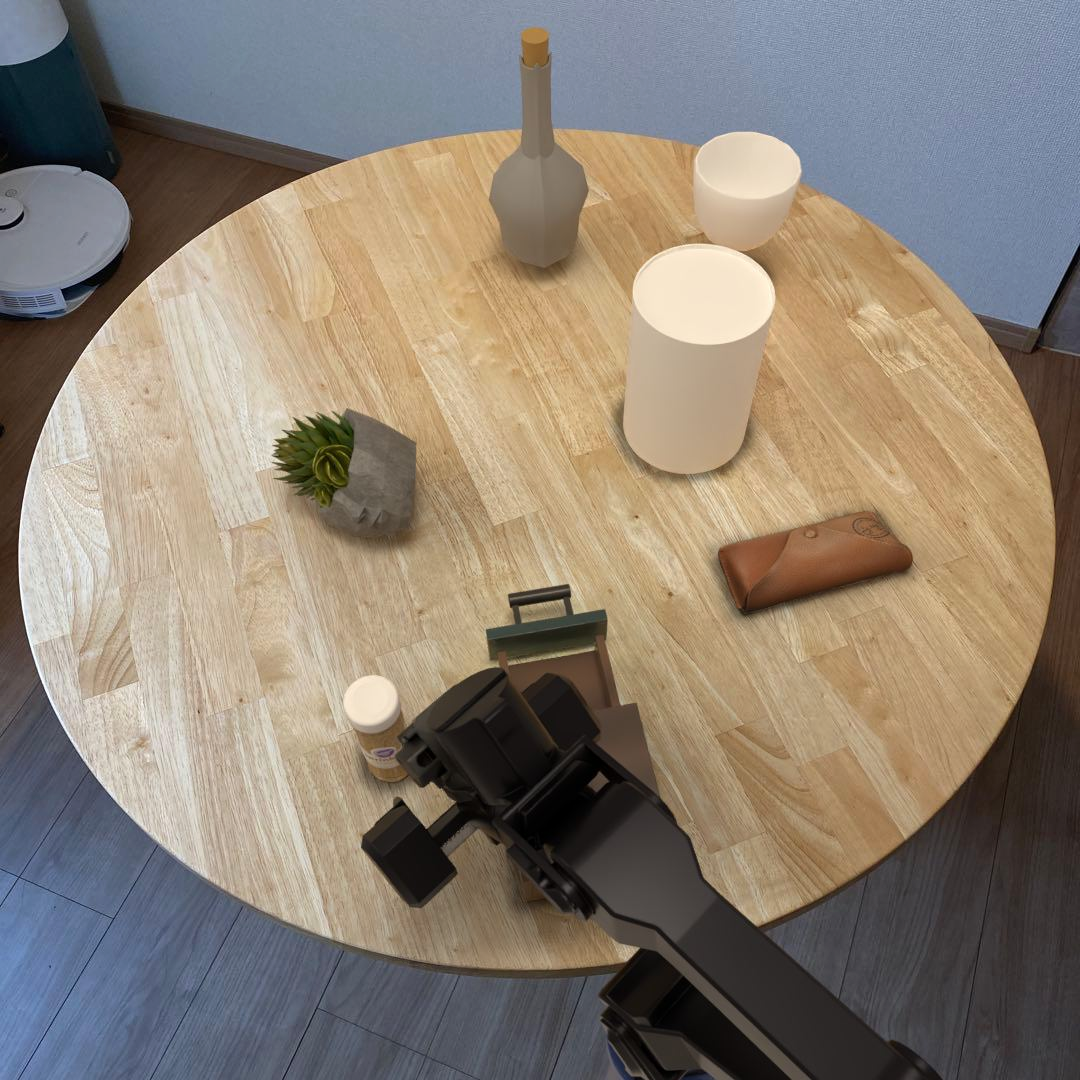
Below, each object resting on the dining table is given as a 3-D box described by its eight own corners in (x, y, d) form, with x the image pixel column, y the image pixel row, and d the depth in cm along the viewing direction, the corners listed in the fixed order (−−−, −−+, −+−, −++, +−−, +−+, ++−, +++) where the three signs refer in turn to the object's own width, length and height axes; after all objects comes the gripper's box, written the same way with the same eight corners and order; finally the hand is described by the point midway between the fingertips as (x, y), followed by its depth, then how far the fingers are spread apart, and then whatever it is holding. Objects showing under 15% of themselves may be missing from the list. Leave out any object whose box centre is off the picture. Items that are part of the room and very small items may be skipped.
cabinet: (499, 753, 96) (495, 727, 91) (633, 729, 97) (636, 702, 92) (524, 902, 89) (521, 883, 84) (668, 874, 90) (674, 854, 85)
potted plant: (402, 560, 104) (249, 528, 101) (404, 523, 116) (268, 494, 114) (428, 443, 101) (271, 408, 98) (428, 418, 113) (288, 386, 110)
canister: (767, 413, 117) (800, 279, 101) (704, 494, 112) (728, 366, 95) (665, 362, 122) (680, 225, 105) (599, 436, 116) (605, 304, 99)
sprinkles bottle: (378, 791, 95) (352, 733, 83) (361, 748, 97) (334, 686, 86) (425, 770, 96) (406, 710, 84) (407, 728, 98) (386, 664, 87)
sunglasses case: (871, 504, 110) (901, 498, 103) (889, 569, 110) (921, 567, 103) (711, 548, 107) (731, 545, 101) (729, 615, 107) (751, 616, 100)
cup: (673, 307, 127) (687, 192, 112) (687, 242, 133) (702, 125, 118) (770, 321, 125) (797, 206, 111) (780, 255, 131) (806, 137, 117)
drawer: (482, 613, 103) (479, 591, 100) (595, 594, 104) (596, 572, 101) (509, 772, 94) (507, 754, 91) (632, 749, 95) (635, 731, 92)
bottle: (506, 226, 135) (493, -1, 110) (592, 236, 134) (599, 9, 109) (486, 287, 129) (467, 62, 104) (576, 298, 128) (579, 73, 103)
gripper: (571, 624, 69) (476, 608, 83) (350, 818, 63) (286, 765, 77) (653, 750, 73) (548, 714, 86) (451, 947, 66) (373, 874, 80)
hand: (443, 762), depth 82 cm, fingers open, 9 cm apart
